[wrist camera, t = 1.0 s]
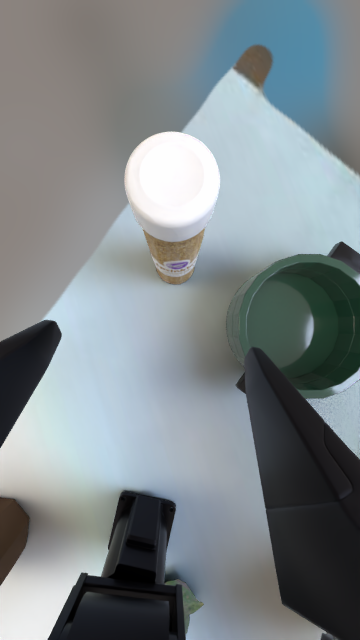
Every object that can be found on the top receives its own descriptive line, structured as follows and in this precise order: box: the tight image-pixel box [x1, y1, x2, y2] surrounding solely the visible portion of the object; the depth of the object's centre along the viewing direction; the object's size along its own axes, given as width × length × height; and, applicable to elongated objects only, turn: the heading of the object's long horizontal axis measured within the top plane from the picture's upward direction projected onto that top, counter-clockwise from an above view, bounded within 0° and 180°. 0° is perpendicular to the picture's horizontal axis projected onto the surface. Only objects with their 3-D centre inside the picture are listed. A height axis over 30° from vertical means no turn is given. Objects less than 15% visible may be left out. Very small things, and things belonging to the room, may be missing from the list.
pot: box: [226, 254, 360, 399], centre depth 20 cm, size 14×14×4 cm
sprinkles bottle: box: [125, 132, 220, 284], centre depth 15 cm, size 5×5×13 cm
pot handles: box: [236, 242, 360, 394], centre depth 18 cm, size 18×4×1 cm, turn 144°
